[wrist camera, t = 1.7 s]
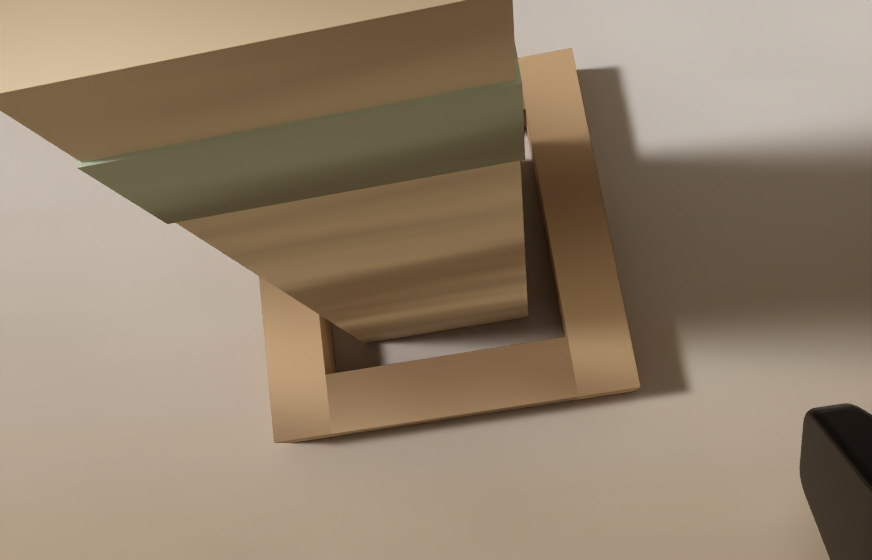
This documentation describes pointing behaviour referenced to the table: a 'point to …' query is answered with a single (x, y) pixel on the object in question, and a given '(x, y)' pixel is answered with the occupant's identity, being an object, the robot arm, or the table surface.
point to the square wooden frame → (490, 368)
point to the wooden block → (300, 140)
